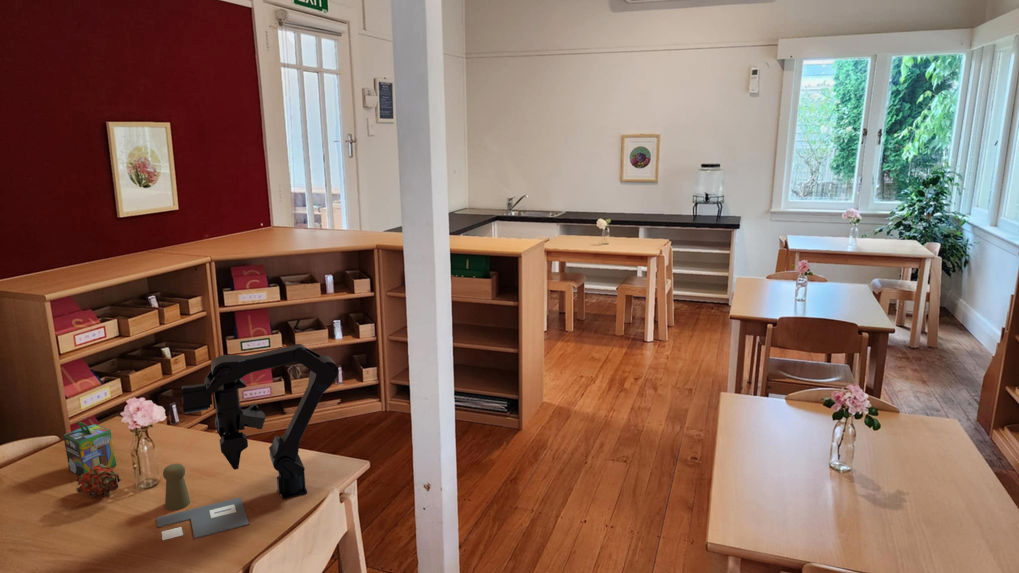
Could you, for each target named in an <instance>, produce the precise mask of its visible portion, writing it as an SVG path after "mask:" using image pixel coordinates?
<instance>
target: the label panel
mask: <svg viewBox="0 0 1019 573" xmlns="http://www.w3.org/2000/svg"><path fill="white" fill-rule="evenodd" d="M248 519H249V518H248V516H247V514H246V510H245V507H244V504H243V500H242V498H241V497H236V498H233V499H228V500H224V501H220V502H215V503H212V504H208V505H207V504H206V505H204V506H199V507H195V508H191V509H186V510H183V511H179V512H174V513H170V514H166V515H162V516H157V517H156V525H157V528H163V527H166V526H170V525H173V524H177V523H182V522H186V521H190V522H191V528H192V533H193V539H194V540H196V539H200V538H203V537H207V536H211V535H214V534H218V533H222V532H226V531H230V530H234V529H238V528H242V527H246V526H249V525H250V523H249V520H248ZM161 536H162V537H161V539H162V541H166V540H169V539H173V538H178V537H181V536H184V532H183V528H182V526H180V527H176V528H171V529H167V530H162V531H161Z"/></svg>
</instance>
